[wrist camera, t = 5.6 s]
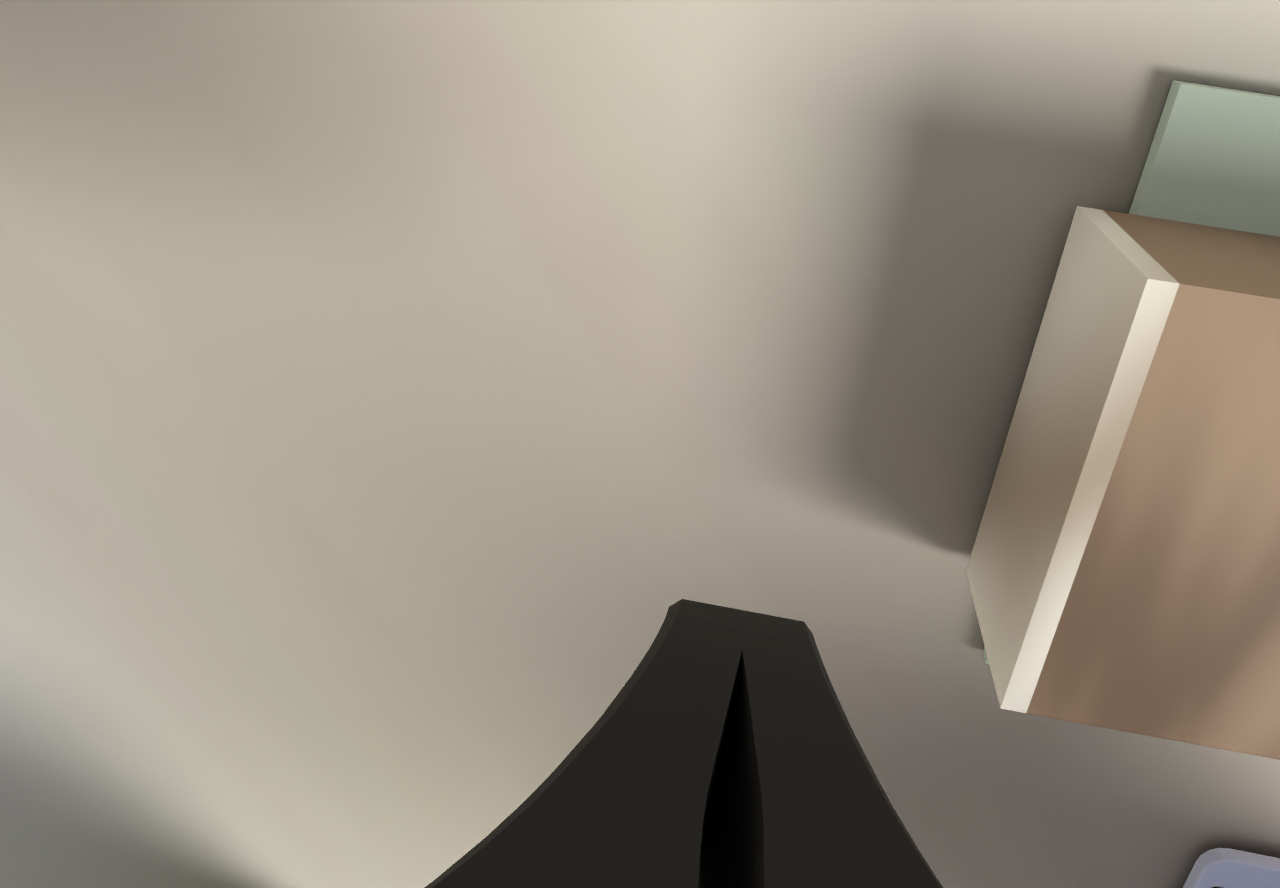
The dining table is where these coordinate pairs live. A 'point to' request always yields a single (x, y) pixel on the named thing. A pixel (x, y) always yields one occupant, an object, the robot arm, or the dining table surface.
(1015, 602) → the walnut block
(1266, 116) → the sage mat
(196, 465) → the dining table surface
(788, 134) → the dining table surface
